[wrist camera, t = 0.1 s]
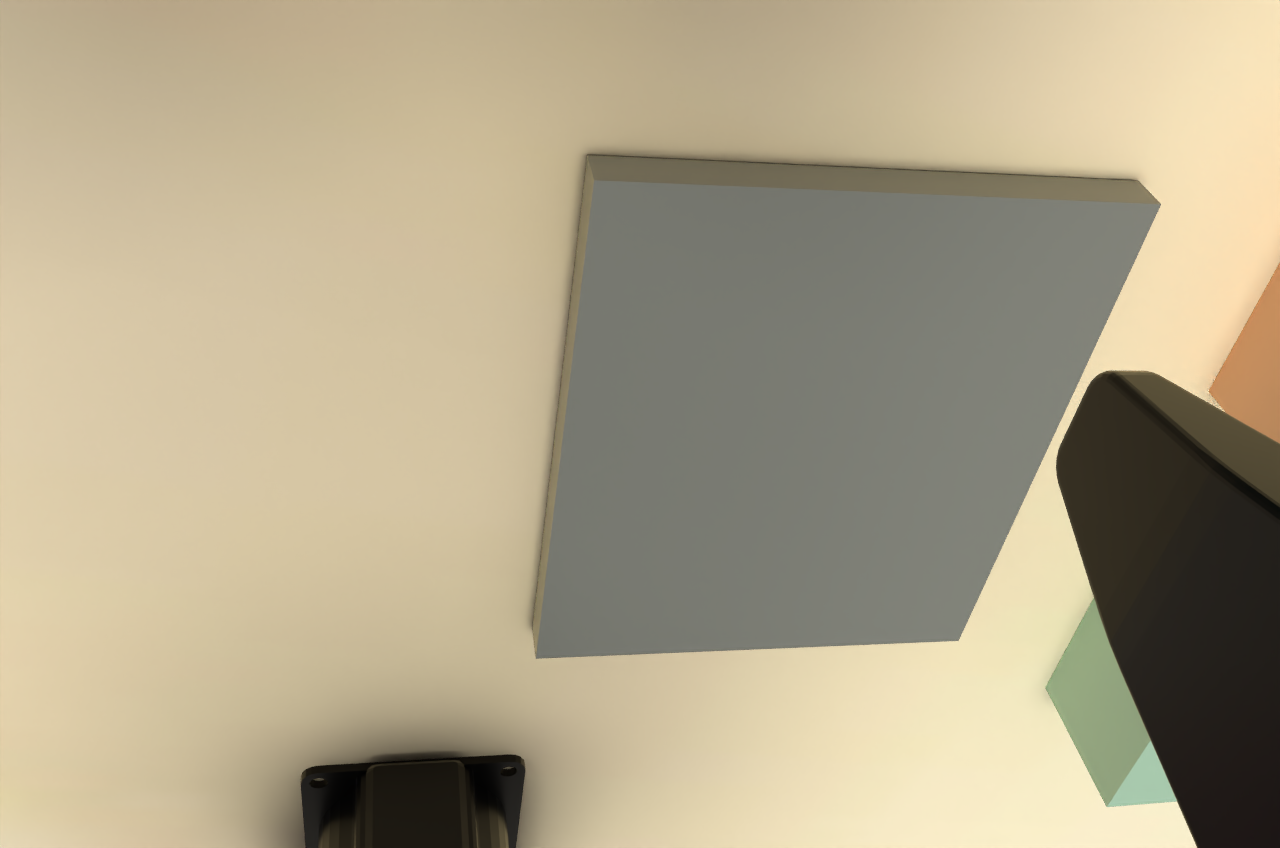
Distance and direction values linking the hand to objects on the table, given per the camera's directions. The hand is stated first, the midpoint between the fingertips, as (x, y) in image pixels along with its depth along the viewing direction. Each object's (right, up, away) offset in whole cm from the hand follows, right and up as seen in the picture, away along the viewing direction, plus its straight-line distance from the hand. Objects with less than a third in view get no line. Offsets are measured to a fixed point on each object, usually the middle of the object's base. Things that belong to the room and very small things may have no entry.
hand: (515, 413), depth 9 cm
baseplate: (+5, 0, +20) cm, 21 cm away
